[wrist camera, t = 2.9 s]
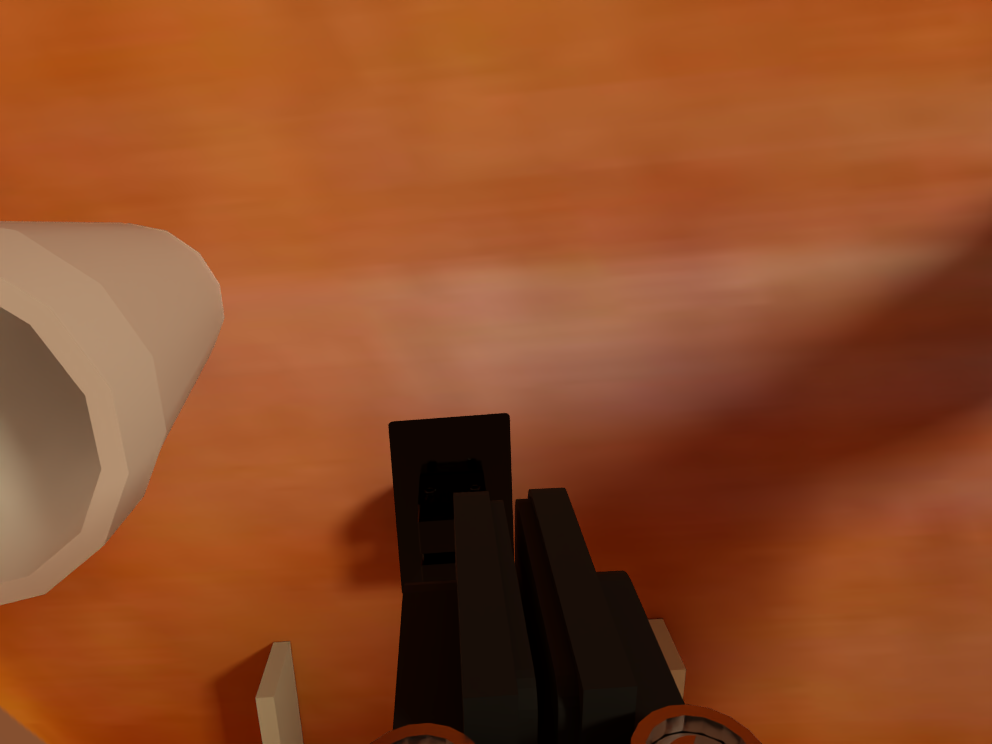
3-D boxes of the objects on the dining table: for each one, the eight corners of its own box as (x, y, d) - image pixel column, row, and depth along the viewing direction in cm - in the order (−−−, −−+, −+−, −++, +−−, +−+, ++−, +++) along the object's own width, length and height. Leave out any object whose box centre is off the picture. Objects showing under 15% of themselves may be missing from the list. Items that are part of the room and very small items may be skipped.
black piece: (367, 382, 30) (354, 423, 26) (530, 373, 30) (545, 412, 26) (389, 614, 34) (382, 684, 30) (533, 603, 34) (547, 670, 30)
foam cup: (-35, 249, 26) (-449, 351, 14) (171, 138, 25) (-75, 142, 13) (118, 445, 29) (-110, 669, 17) (305, 351, 29) (206, 515, 16)
